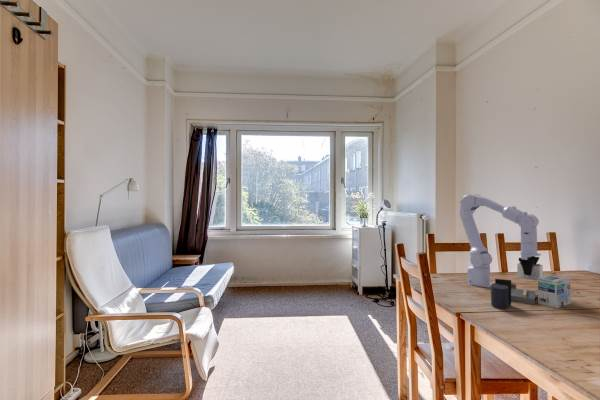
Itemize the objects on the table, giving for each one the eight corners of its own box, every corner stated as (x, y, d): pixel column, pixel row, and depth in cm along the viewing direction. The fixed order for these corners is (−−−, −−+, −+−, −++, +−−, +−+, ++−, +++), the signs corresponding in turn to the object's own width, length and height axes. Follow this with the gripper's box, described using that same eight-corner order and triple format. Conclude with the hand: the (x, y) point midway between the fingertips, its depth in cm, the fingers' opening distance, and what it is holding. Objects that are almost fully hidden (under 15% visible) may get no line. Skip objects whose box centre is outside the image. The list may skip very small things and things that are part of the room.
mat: (501, 292, 142) (501, 291, 142) (503, 287, 150) (503, 286, 150) (547, 298, 133) (547, 297, 133) (547, 293, 140) (546, 292, 140)
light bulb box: (557, 309, 120) (557, 280, 120) (537, 304, 126) (537, 277, 126) (571, 304, 125) (571, 277, 125) (551, 300, 131) (551, 273, 131)
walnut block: (504, 290, 144) (504, 283, 144) (505, 288, 147) (505, 281, 147) (515, 291, 141) (515, 284, 141) (516, 289, 145) (516, 282, 145)
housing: (517, 277, 140) (517, 263, 140) (520, 275, 143) (520, 261, 143) (539, 280, 134) (539, 265, 134) (542, 279, 137) (542, 264, 137)
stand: (492, 299, 133) (492, 290, 133) (496, 292, 143) (496, 284, 143) (534, 305, 125) (534, 296, 125) (535, 297, 134) (535, 289, 134)
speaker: (494, 301, 129) (495, 276, 128) (511, 305, 125) (511, 279, 124) (488, 307, 124) (488, 282, 123) (505, 312, 120) (506, 285, 119)
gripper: (535, 245, 131) (535, 278, 131) (544, 241, 140) (544, 272, 140) (515, 243, 136) (515, 275, 136) (525, 240, 145) (525, 270, 146)
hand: (529, 274), depth 138 cm, fingers closed on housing, 5 cm apart
